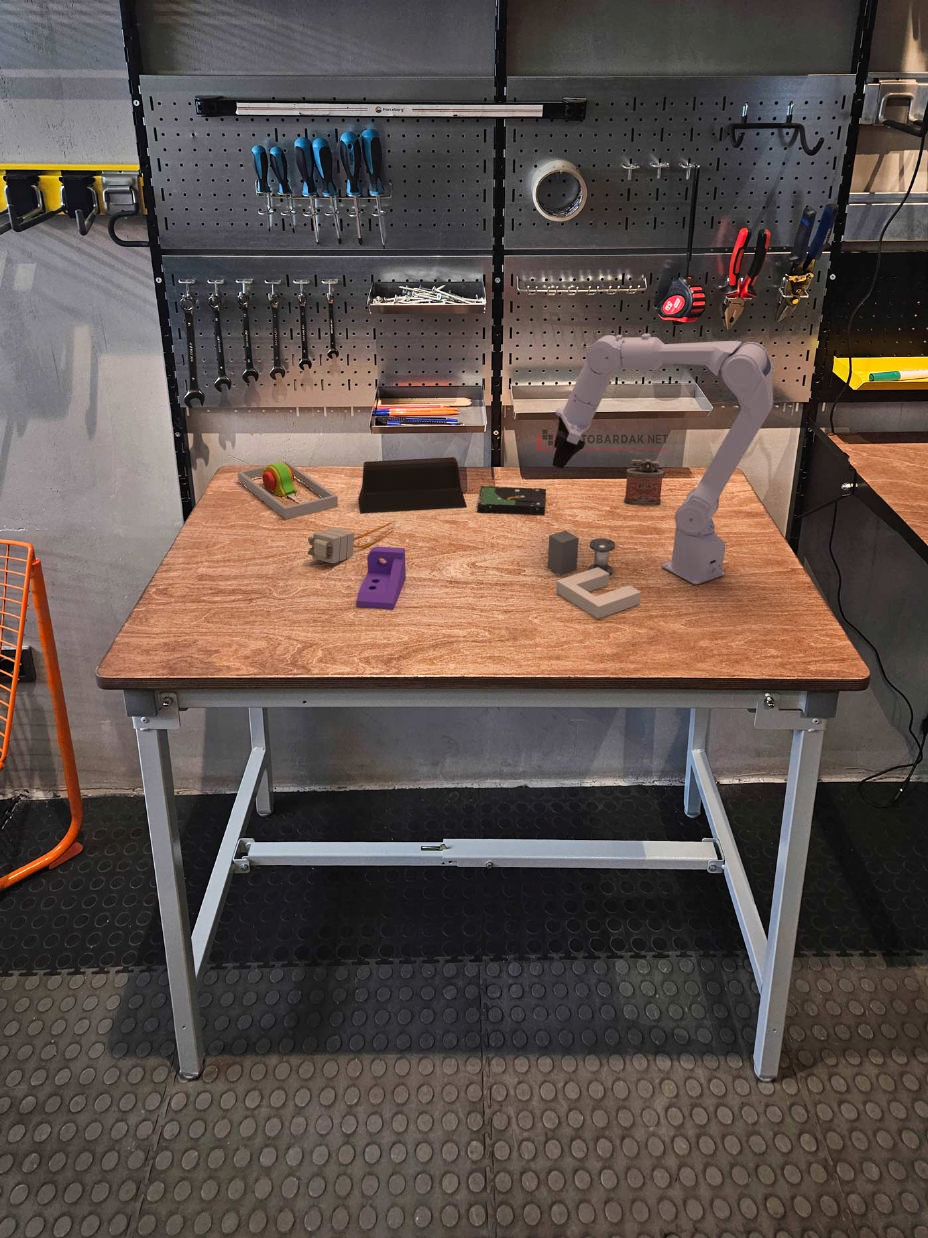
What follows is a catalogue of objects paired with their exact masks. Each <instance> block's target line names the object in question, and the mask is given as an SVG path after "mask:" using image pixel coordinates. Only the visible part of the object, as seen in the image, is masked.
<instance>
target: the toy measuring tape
mask: <svg viewBox="0 0 928 1238" xmlns="http://www.w3.org/2000/svg"><path fill="white" fill-rule="evenodd" d="M267 466H268V465H267ZM261 479H262V482H263V486H264V487H265V488H266V489H267V490H269V491H270V492H271V491H273V492H274V493H276V494H277V495H276V494H275V495H276V496H278V495H280V496H282V497H286V496H288V497H287V498H290V499H291V500H293V501H294V500H295V501H294V502H295V503H296V502H299V501H297V499H296V497H292V496H294V495H295V494H296V493H297V495H296V496H298V497H297V498H300V499H302V500H304V501H303V503H304V502H308V501H309V500H307V499H305V498H303V497H301V496H299V495H298V489H297V487H296V485H295V478H294V474H293V471H292V470H291V469H290V468H289V467H288V466H287V465H285V464H284V463H281V462H275V463H271V464H269V466H268V467H267V468H266V469H263V472H262V478H261ZM274 493H273V494H274ZM280 496H279V497H280ZM282 497H281V498H282Z"/></svg>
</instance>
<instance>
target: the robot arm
mask: <svg viewBox="0 0 928 1238" xmlns="http://www.w3.org/2000/svg"><path fill="white" fill-rule="evenodd" d="M585 359H586V361H585V363H584V365H583V368H581V370H580V373H579V374H578V378H577V379H576V382H575V384H574V386H573V388H572V391H571V392H570V395H569V397H568V399H567V402H566V403H565V406H564V408H561V407H557V408H556V410H555V415H556V416H558V426H557V430H556V434H555V435H556V436H555V439H554V444H553V447H554V449H555V452H554V454H553V459H552V466H554V467H555V468H559V469H561V470H563V468H564V467H565V466H567V465H568V463H569V461H570V460H571V459H572V458H573V457H574V456H575V455H576V454H577V453H578V452H579V451H581V450H583V449H584V447H585V446H586V442H585V441H584V440H581V439H580V438H581V436H582V435H583V434H584V433H585V432H586V431H587V430H589V429H590V427H591V426H592V421H593V418H594V416H595V415H596V413H597V410H598V408H599V406H600V403H601V402H602V400H603V398H604V395H605V393H606V392H607V389H608V387H609V385H610V383H611V378H612V377H613V374H614V373H615V370H616V369H617V370H621V371H657V369H659V367H661V366H662V364H671V365H672V364H674V365H676V364H677V365H691V366H692V365H693V366H695V365H696V366H706V367H707V369H709V370H710V371H711V372H712V373H713V375H715V376H716V377H718V376H719V375H720V374H721V376H722V377H721V378H722V380H723V383H725V385H726V386H727V387H728V389H729V390H730V391H731V392H732V393H733V395H735V397H736V399H737V401H738V404H739V405H740V411H739V413H738V415H737V416H736V419H735V420H734V422H733V424H732V425H731V427H730V429H729V430H728V432H727V434H726V435H725V437H724V439H723V441H722V443H721V445H720V446H719V448H718V449H717V450H716V453H715V455H714V457H713V458H712V460H711V462H710V463H709V465H708V466H707V469H706V470H705V472H704V474H703V476H702V477H701V479H700V481H699V483H698V484H697V486H696V487H694V488H693V489H692V490H690V491H689V492H688V493H687V495H686V498H685V499H684V501H683V502H682V504H681V505H679V507H678V508H677V509H676V511H675V514H674V521H675V530H674V540H673V549H672V557H671V561H667V562H664V563H661V568H663V569H665V570H667V571H668V572H671V573H672V574H674V575H676V576H678V577H680V578H682V579H684V580H685V581H687V582H689V583H691V584H693V585H695V586H696V585H699V584H702V583H705V582H708V581H711V580H714V579H716V578H719V577H722V576H724V575H725V571H723V568H724V567H723V565H724V560H725V552H726V543H725V540H723V539H722V538H721V537H719V535H718V534H717V533H716V530H715V529H716V528H715V527H716V525H715V523H714V520H713V516H714V515H715V514H716V513H717V511H718V510H719V506H720V497H721V495H722V493H723V491H724V489H725V487H726V486H727V485H728V482H729V481H730V479H731V477H732V476H733V474H734V472H735V471H736V469H737V467H738V466H739V464H740V463H741V461H742V459H743V457H744V456H745V454H746V452H747V451H748V450H749V447H750V445H751V444H752V442H753V440H754V439H755V437H756V435H757V434H758V432H759V430H761V427H762V425H763V424H764V422H765V420H766V419H767V417H768V415H769V414H770V412H771V410H772V408H773V406H774V394H773V393H774V391H773V389H774V387H773V368H774V364H773V362H772V360H771V357H770V356H769V354H768V351H767V349H766V348H765V347H764V346H763V345H762V344H760V343H758V342H753V341H748V342H744V343H742V341H739V340H727V341H725V340H724V341H723V340H722V341H721V340H720V341H707V342H706V341H705V342H703V341H701V342H685V343H684V342H683V343H681V342H680V343H664V342H663V341H662V340H661V339H660V338H659V337H657V336H651V334H650V333H643V334H642V335H641V337H637V336H635V337H624V336H623V334H617V335H616V336H615V335H610V334H609V335H603V336H602V337H600V338H598V339H597V340H596V341H595V342H593V343H592V344H591V345H590V346H589V347H588V349H587V351H586V355H585Z"/></svg>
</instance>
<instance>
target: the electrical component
mask: <svg viewBox="0 0 928 1238" xmlns="http://www.w3.org/2000/svg"><path fill="white" fill-rule="evenodd" d="M393 523H396V520H393V521H391V522H388V523H386V524H383V525H381V526H378V527H377V528H375V529H372V530H369V531H367V532H365V533H363V534H360V535H357V536H355V532H354V531H349V530H346V529H342V528H337V527H331V528H328V529H325V530H321V531H317V532H314V533H313V534H312V535H313V536H309V537H308V539H307V541H308V545H309V546H311V547H310V548H309V550H308V551H307V555H310V556H311V558H312V559H315V560H319V561H322V562H325V563H330V564H335V563H339V562H342V561H344V560H346V559H350V558H352V557H353V556H354V548H359V549H361V548H365V547H369V546H372V545H374V544H376V543H378V542H380V541H382V540H383V539H385V538H386V537H388V536H390V534H392V533H394V532H395V531H396V530H398V529H399V527H400V526H397V527H395V528H394V529H393V530H391V531H390V532H388V533H387V534H386V535H384V536H382V537H381V538H378V539H376V540H375V541H373V542H369V543H366V544H362V545H355V543H354V541H356V540H358V539H361V538H364V537H366V536H367V535H370V534H372V533H375V532H376V531H379V530H382V529H384V528H385V527H388V526H390V525H392V524H393Z"/></svg>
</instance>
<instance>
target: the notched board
mask: <svg viewBox="0 0 928 1238" xmlns="http://www.w3.org/2000/svg"><path fill="white" fill-rule="evenodd" d="M609 578H610V576H609V573H607V572H606V571H604V570H602V569H600V568H599V567H597V568H594V569H591V570H588V569H587V570H585V571H582V572H578V573H576V574H573V575H570V576H566V577H564V578H560V579H556V585H555V587H556V588H555V593H556V594H558V595H560V596H561V597H563V598H564V599H565V600H567V601H569V602H570V603H572V604H574V605H575V606H576V607H578V608H580V609H581V610H583V611H584V612H586V613H588V614H589V615H591V616H593V617H594V618H596V619H597V620H598V619H599V620H600V619H601V618H604V617H607V616H610V615H612V614H616V613H618V612H621V611H625V610H627V609H630V608H632V607H635V606H639V605H640V604H641V598H642V597H641V596H642V591H641V590H638V589H637V588H635V587H633V586H632V585H625V586H623V587H620V588H617V589H614V590H610V591H607V592H605V593H602V594H599V595H596V596H595V595H594V594H592V593H591V592H593V591H596V590H598V589H602V588H604V587H607V586H609V583H610V582H609V581H610V579H609Z"/></svg>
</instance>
